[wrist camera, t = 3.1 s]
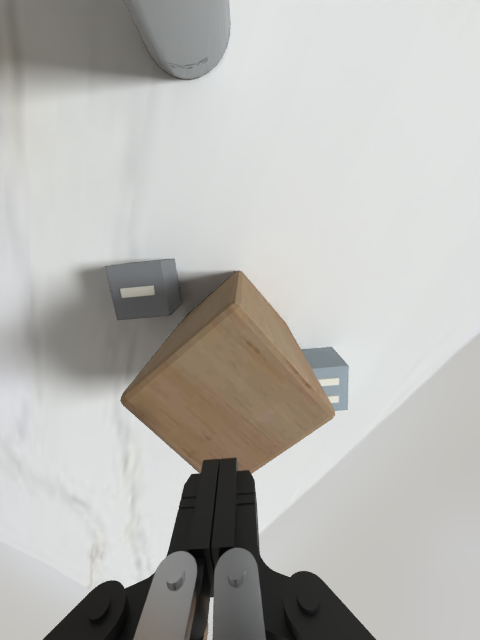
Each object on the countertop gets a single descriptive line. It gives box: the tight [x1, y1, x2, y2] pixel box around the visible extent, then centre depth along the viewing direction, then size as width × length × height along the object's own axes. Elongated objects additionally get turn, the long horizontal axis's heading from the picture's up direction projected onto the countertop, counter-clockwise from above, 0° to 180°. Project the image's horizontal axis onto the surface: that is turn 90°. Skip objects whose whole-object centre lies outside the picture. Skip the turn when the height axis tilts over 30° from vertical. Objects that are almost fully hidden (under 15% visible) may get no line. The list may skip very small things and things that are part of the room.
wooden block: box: [120, 271, 335, 474], centre depth 26 cm, size 10×10×20 cm
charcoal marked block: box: [105, 259, 182, 320], centre depth 31 cm, size 6×6×6 cm
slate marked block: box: [301, 347, 349, 411], centre depth 34 cm, size 6×6×6 cm
